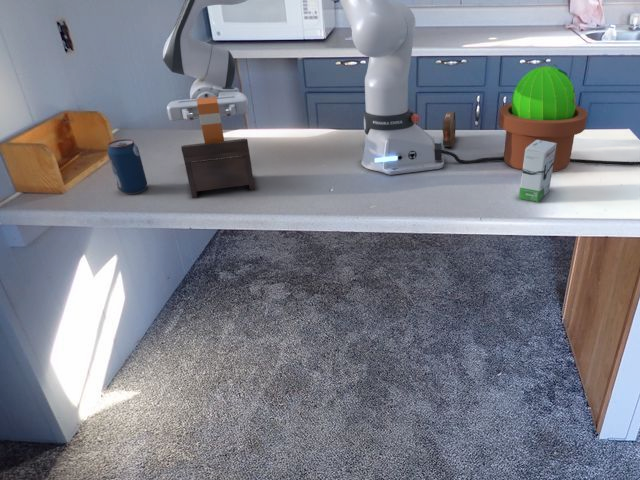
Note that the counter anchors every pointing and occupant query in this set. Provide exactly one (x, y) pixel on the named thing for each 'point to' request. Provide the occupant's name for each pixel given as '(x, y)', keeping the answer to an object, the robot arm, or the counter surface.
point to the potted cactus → (542, 116)
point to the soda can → (127, 166)
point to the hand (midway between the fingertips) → (209, 115)
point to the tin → (449, 129)
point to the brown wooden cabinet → (218, 165)
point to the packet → (210, 119)
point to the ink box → (537, 170)
